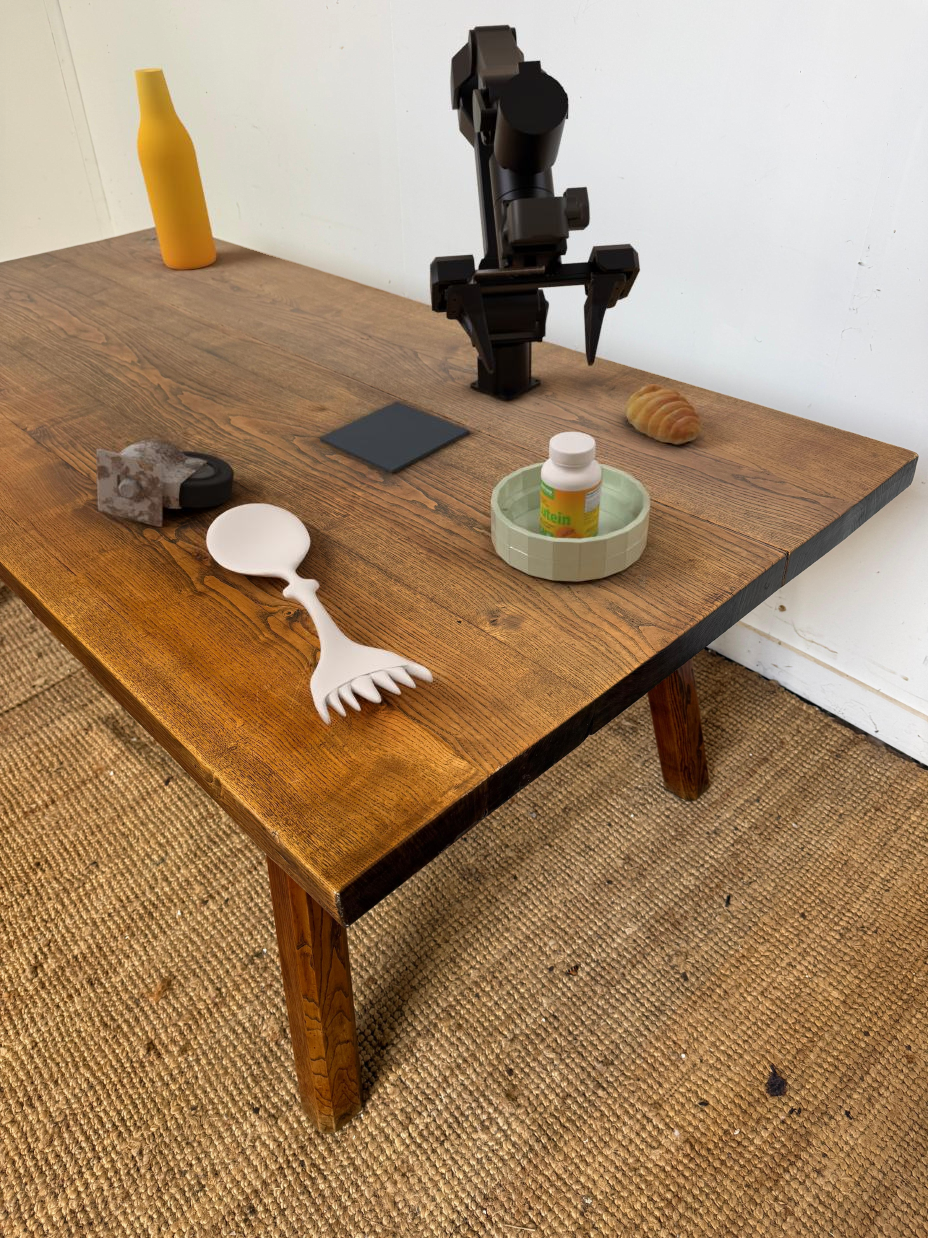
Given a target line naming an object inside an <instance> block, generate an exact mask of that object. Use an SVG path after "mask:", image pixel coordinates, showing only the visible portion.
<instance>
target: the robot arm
mask: <svg viewBox="0 0 928 1238" xmlns="http://www.w3.org/2000/svg"><path fill="white" fill-rule="evenodd" d="M517 37H518V36H517V29H516V27H513V26H511V25H509V24H499V25H498V24H497V25H495V24H493V25H478V26H477V25H476V26H474V28H473V29H468V37H467V42H466V43H465V44H464V45H463V46H462V47H461V48H460V49H459V50H458V51H457V52H456V53H455V54H454V55H453V57H452V58H451V61H450V75H449V76H450V77H449V78H450V81H449V84H450V85H449V88H450V105H451V110H452V111H456V112H457V113H456V114H457V121H458V129H459V132H460V133H461V135H462V136H463V138H465V139H466V141H467V142H468V143H469V144H470V146H471V147H472V148H473V151H474V163H475V170H476V171H475V173H476V184H477V195H478V206H479V207H478V208H479V216H480V227H481V238H482V248H483V249H482V250H483V258H481V259H480V261H479V264H478V268H477V269H476V264H475V263H476V262H475V257H474V254H460V255H457V254H456V255H446V256H445V255H443V256H434V259H433V260H432V261H431V262H430V264H429V295H430V302H431V310H432V311H433V312H434V313H437V314H441V313H445V315H446V316H445V317H446V319H447V320H451V321H457V322H458V324H459V325H460V326H461V327H462V329H463V330H464V331H465V333H466V335H467V336H468V338H469V339H470V342H471V346H472V348H475V350H476V351H477V354H478V355H477V357H476V364H477V366H476V367H477V368H476V369H477V379H476V380H473V382H470V385H469V387H470V389H472V390H475V391H478V392H481V393H484V394H486V395H489V396H492V397H494V398H497V399H499V400H502V401H505V402H507V401H508V402H509V401H512V400H514V399H516V398H519V397H520V396H522V395H524V394H526V393H528V392H530V391H531V390H533V389H535V388H537V387H539V386H541V385H542V380H541V379H540V378H537V377H533V376H532V353H533V352H532V350H533V349H532V347H533V346H532V344H533V343H543V340H544V338H545V337H547V335H546V334H547V333H546V331H547V319H548V314H549V309H550V302H549V301H548V300H547V299H546V296H545V292H544V289H545V288H546V289H547V288H560V287H561V288H562V287H574V286H583V287H584V294H585V296H586V298H585V301H584V304H583V324H584V345H585V348H584V349H585V357H586V362H587V366H588V367H592V366H594V363H595V360H596V356H597V351H598V346H599V341H600V337H601V333H602V327H603V323H604V317H605V314H606V311H607V310H608V309H613V308H614V307H616V305H617V303H618V301H621V300H623V299H626V298H627V297H629V295H630V292H631V291H632V288H633V286H634V284H635V282H636V279H637V278H638V276H639V273H640V272H641V268H640V267H641V266H640V259H639V252H638V251H637V250H636V249H635V248H634V246H632V244H631V243H621V244H620V243H619V244H605V245H593V246H592V248H591V251H590V254H589V257H588V260H587V261H583V262H567V263H566V262H565V263H563V260H562V256H566V255H567V251H568V241H567V240H568V239H569V238H570V232H572V231H573V232H575V231H585V230H586V228H587V227H589V225H590V222H591V212H590V211H591V210H590V209H591V208H590V200H589V193H588V187H587V186H580V187H579V186H578V187H577V186H576V187H568V188H566V189H565V191H564V192H563V193H562V196H555V195H556V194H555V186H554V177H553V169H552V167H553V166H554V165H555V163H556V161H557V158H558V155H559V151H560V146H561V142H562V137H563V132H564V128H565V123H566V120H569V109H570V107H569V96H568V93H567V92H566V90H565V88H564V86H563V85H562V84H561V83H560V81H558V80H557V79H556V78H555V77H554V76H552V75H550V74H548V72H547V71H545V70H544V69H543V68H542V63H541V60H526V61H525V54H524V52H523V51H522V50H521V49H520V48H519V46H518V38H517Z"/></svg>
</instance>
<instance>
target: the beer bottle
mask: <svg viewBox="0 0 928 1238" xmlns="http://www.w3.org/2000/svg"><path fill="white" fill-rule="evenodd" d="M134 77H135V84H136V92H137V98H138V99H137V100H138V105H139V124H138V130H137V139H136V149H137V157H138V161H139V164H140V165H139V166H140V169H141V174H142V178H143V182H144V185H145V189H146V193H147V198H148V202H149V206H150V211H151V214H152V218H153V223H154V227H155V230H156V236H157V239H158V243H159V248H160V254H161V258H162V260H163V263H164V264H165V265H166V267H167V268H169V269H172V270H178V271H188V270H197V269H201V268H205V267H209V266H211V265H212V264H214V263H215V262H216V260H217V249H216V243H215V239H214V236H213V231H212V226H211V222H210V217H209V211H208V207H207V202H206V197H205V192H204V186H203V182H202V177H201V173H200V167H199V163H198V158H197V152H196V148H195V145H194V142H193V139H192V138H191V136H190V133H189V131H188V129H186V126H185V125H184V123H183V122H182V121H181V119H180V117H179V116H178V113H177V112H176V109H175V106H174V103H173V101H172V97H171V94H170V90H169V87H168V84H167V80H166V77H165V74H164V72H163V68H157V67H156V68H155V67H153V68H141V69H136V70H134Z"/></svg>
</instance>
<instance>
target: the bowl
mask: <svg viewBox="0 0 928 1238" xmlns="http://www.w3.org/2000/svg"><path fill="white" fill-rule="evenodd" d="M545 462H546V461H544V462H536V463H533V464H531V465H527V466H524V467H521V468H518V469H516V470H515V471H513V472H511V473H509V474H508V475H506V476H504V477H503V478H501V480H500V481H499V482H498V483H497V484H496V485H495V487H494V488H493V489H492V493H491V499H490V533H491V534H490V537H491V542H492V544H493V547H494V549H495V553H496V554H497V555H498V556H499V557H500V558H501V559H502V560H503V561H504V562H505V563H506V564H507V565H508V566H511V567H512V568H515V569H516V570H519V571H521V572H522V573H525V574H526V575H529V576H533V577H537V578H541V579H546V580H549V581H557V582H559V581H560V582H584V581H591V580H597V579H603V578H606V577H610V576H612V575H615V574H618V573H620V572H622V571H625V570H627V569H628V568H629V567H630V566H631V565H633V564H634V563H636V562H637V561H638V560H640V558H641V556H642V554H643V552H644V550H645V548H646V546H647V541H648V533H649V524H650V523H649V522H650V514H651V498H650V493H649V491H647V489H646V487H644V485H643V483H642V482H641V481H640V480H638V479H637V478H636V477H634V476H633V475H631V474H629V472H626V471H623V470H621V469H618V468H616V467H613V466H611V465H608V464H604V463H599V465H600V467H601V471H602V480H601V493H600V509H599V523H598V534H597V536H596V537H589V538H581V539H575V538H554V537H549V536H545V535H540V494H541V469H542V466H543V464H544V463H545Z"/></svg>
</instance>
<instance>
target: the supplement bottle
mask: <svg viewBox="0 0 928 1238" xmlns="http://www.w3.org/2000/svg"><path fill="white" fill-rule="evenodd" d="M596 443H597V442H596V440H595V439H594V437H592V435H589V434H588V433H584V432H580V431H565V432H564V431H563V432H560V433H557V434H555V435H554V436H552V437H550V440H549V444H548V445H549V446H548V459H547V460H546V461H544V462H545V463H544V464H543V466H542V469H541V494H540V535H545V536H549V537H554V538H575V539H581V538H589V537H596V536H597V534H598V523H599V509H600V493H601V480H602V471H601V467H600V465H599V464H600V462H598V461H597V459H595V457H596V453H597V452H596V449H597V448H596V447H597V446H596V445H597V444H596Z"/></svg>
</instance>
